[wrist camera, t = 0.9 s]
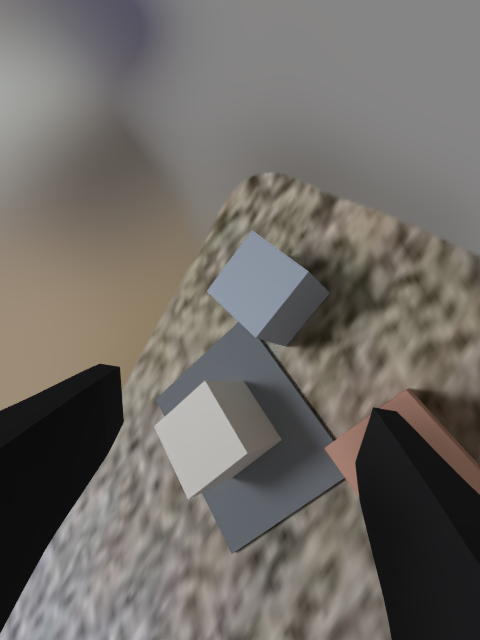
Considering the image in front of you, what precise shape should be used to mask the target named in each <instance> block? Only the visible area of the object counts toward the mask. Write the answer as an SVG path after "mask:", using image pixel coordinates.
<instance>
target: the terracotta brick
mask: <svg viewBox="0 0 480 640" xmlns="http://www.w3.org/2000/svg"><path fill="white" fill-rule="evenodd" d="M380 409H386V410H392V411H397V412H398V413H399V414H400V415H401V416H402V417H403V418H404V419H405V420H406V421H407V422H408V423H409V424H410V425H411V426H412V427H413V428H414V429H415V430H416V431H417V432H418V433H419V434H420V435H421V436H422V437H423V438H424V439H425V440H426V441H427V442H428V444H429V445H430V446H431V447H432V448H433V449H434V450H435V451H436V452H437V453H438V454H439V455H440V456H441V457H442V458H443V459H444V460H445V461H446V462H447V463H448V464H449V465H450V466H451V467H452V468H453V469H454V470H455V471H456V472H457V473H458V474H459V475H460V476H461V477H462V478H463V479H464V480H465V481H466V482H467V483H468V484H469V485H470V486H471V487H472V488H473V489H474V490H476V491H477V492H478V493H479V494H480V466H479V464H478V463H477V462H476V461H475V460H474V459H473V458H472V457H471V456H470V454H469V453H468V452H467V451H466V450H465V449H464V448H463V447H462V446H461V445H460V444H459V442H458V441H457V440H456V439H455V438H454V437H453V436H452V435H451V434H450V433H449V431H448V430H447V429H446V428H445V427H444V426H443V425H442V424H441V423H440V422H439V420H438V419H437V418H436V417H435V416H434V415H433V414H432V413H431V412H430V411H429V410H428V408H427V407H426V406H425V405H424V404H423V403H422V402H421V401H420V400H419V399H418V397H417V396H416V395H415V394H414V393H413V392H412V391H411V390H410V389H406V390H404V391H403V392H401V393H400V394H399V395H397V396H396V397H395V398H393V399H392V400H390V401H389V402H388V403H386V404H385V405H383V406H382V407H381V408H380ZM370 416H371V415H370ZM370 416H368V417H367V418H365V419H364V420H363V421H361V422H360V423H359V424H357V425H356V426H354V427H353V428H352V429H350V430H349V431H347V432H346V433H345V434H343V435H342V436H341V437H339V438H338V439H336V440H335V441H334V442H332V443H331V444H329V445H328V446H327V447H325V448H324V449H325V450H326V452H327V453H328V454H329V456H330V457H331V459H332V460H333V462H334V463H335V464H336V466H337V467H338V469H339V470H340V471H341V473H342V474H343V476H344V477H345V479H346V480H347V481H348V483H349V484H350V486H351V487H352V488H353V490H354V491H355V493H356V494H357V496H358V497H359V491H358V484H357V475H356V466H355V461H356V458H357V455H358V452H359V449H360V446H361V443H362V440H363V437H364V434H365V431H366V428H367V425H368V422H369V419H370Z"/></svg>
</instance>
